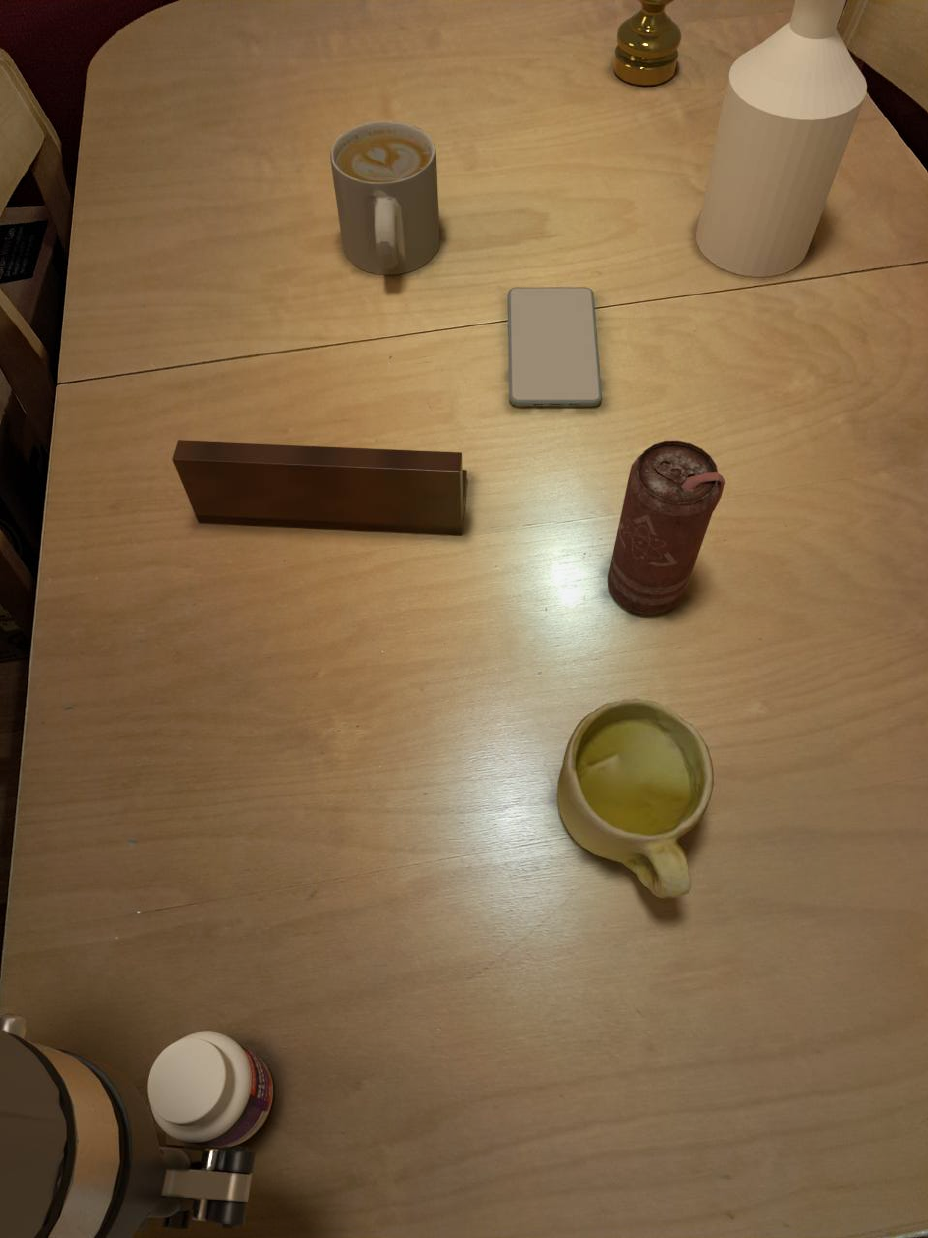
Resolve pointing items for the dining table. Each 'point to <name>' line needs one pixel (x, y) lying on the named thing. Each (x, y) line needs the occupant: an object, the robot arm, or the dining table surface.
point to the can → (663, 525)
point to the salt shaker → (647, 45)
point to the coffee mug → (386, 196)
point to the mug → (636, 789)
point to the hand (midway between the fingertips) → (196, 1178)
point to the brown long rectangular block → (323, 487)
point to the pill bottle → (209, 1090)
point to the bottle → (780, 144)
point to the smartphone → (553, 347)
